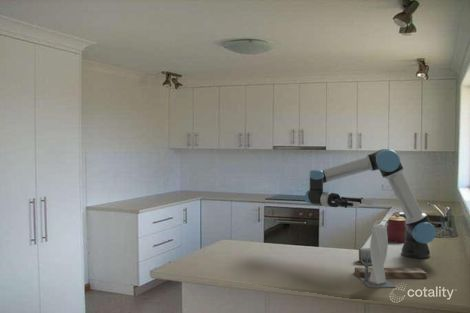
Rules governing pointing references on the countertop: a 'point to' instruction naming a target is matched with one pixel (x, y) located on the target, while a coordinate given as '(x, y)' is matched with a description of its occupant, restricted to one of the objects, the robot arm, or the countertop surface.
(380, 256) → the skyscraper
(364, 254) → the ceramic mug
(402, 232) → the canister
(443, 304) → the countertop surface
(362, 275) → the walnut board
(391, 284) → the end pad
